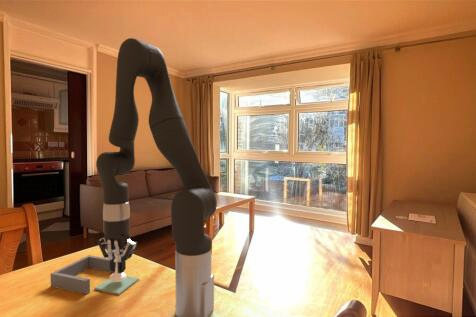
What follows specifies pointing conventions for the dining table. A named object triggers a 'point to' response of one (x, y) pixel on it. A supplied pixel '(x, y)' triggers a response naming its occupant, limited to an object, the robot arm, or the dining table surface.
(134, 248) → the robot arm
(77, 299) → the dining table surface
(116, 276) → the chess piece
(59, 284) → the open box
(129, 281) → the mat
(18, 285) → the dining table surface
